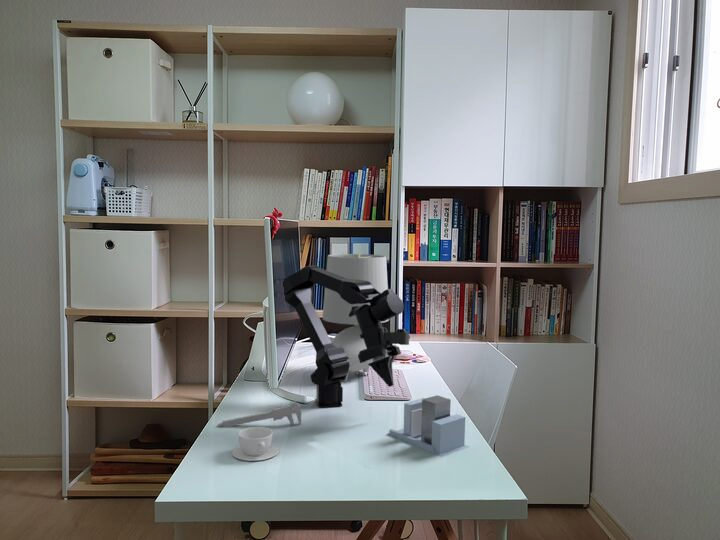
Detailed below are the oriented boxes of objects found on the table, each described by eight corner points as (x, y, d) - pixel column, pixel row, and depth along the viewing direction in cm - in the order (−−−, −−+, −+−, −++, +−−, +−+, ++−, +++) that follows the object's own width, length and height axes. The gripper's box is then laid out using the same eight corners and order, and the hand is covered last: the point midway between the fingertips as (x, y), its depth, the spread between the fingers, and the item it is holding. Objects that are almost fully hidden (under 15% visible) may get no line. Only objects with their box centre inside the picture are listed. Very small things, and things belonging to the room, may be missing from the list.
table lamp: (364, 390, 176) (366, 257, 173) (306, 379, 187) (307, 253, 184) (400, 374, 195) (402, 254, 192) (345, 365, 207) (347, 251, 203)
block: (420, 442, 132) (422, 399, 131) (436, 437, 135) (437, 395, 134) (434, 448, 129) (435, 403, 128) (449, 443, 132) (450, 399, 131)
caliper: (301, 424, 147) (301, 400, 146) (301, 426, 146) (301, 401, 145) (217, 426, 144) (217, 401, 144) (217, 428, 143) (216, 402, 143)
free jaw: (403, 436, 135) (404, 402, 135) (422, 430, 139) (423, 397, 139) (410, 439, 134) (411, 405, 133) (429, 433, 138) (430, 400, 137)
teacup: (226, 449, 130) (226, 428, 129) (269, 442, 135) (269, 422, 134) (240, 466, 121) (240, 444, 121) (285, 457, 126) (285, 436, 126)
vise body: (387, 438, 138) (388, 406, 137) (414, 430, 143) (415, 399, 143) (441, 461, 125) (442, 426, 124) (469, 451, 130) (470, 417, 130)
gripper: (390, 314, 140) (412, 377, 136) (408, 318, 158) (428, 374, 154) (348, 330, 143) (369, 393, 139) (371, 332, 160) (390, 387, 157)
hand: (391, 386), depth 147 cm, fingers closed
